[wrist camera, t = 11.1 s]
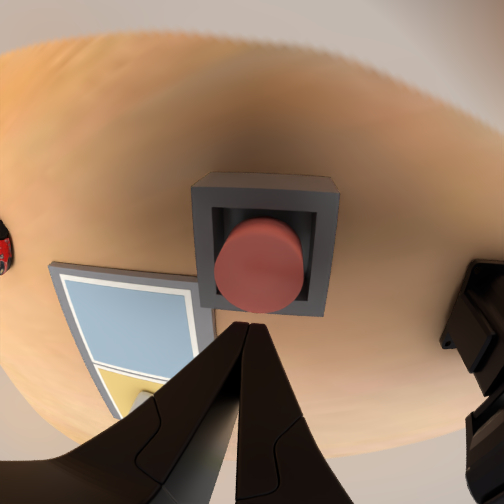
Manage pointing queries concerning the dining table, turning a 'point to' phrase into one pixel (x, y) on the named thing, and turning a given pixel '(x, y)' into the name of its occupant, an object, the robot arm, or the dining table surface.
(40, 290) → the dining table surface
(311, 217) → the button housing
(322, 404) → the dining table surface
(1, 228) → the race car
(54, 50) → the dining table surface
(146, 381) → the grey flat rectangular board
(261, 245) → the button
